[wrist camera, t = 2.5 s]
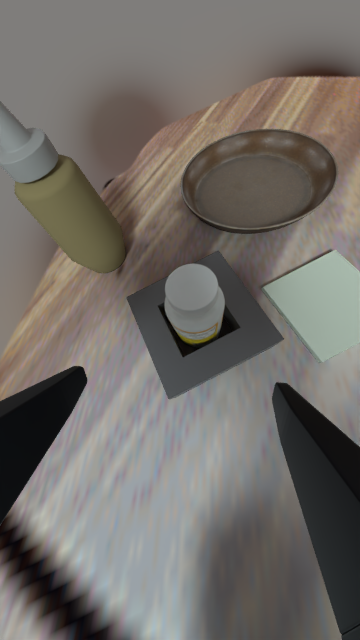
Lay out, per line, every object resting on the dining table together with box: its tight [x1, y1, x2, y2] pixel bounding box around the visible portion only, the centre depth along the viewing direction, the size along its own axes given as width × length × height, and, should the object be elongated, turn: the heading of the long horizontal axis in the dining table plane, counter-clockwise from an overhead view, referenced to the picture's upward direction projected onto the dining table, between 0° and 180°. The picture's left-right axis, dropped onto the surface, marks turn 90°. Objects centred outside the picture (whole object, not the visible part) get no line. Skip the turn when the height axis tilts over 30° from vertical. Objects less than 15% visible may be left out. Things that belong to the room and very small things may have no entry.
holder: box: [126, 251, 284, 399], centre depth 21 cm, size 12×12×4 cm
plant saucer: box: [181, 129, 338, 234], centre depth 27 cm, size 21×21×3 cm
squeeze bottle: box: [0, 102, 126, 273], centre depth 20 cm, size 8×8×18 cm
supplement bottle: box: [165, 264, 225, 348], centre depth 18 cm, size 5×5×10 cm
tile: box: [262, 250, 360, 363], centre depth 21 cm, size 10×10×1 cm
